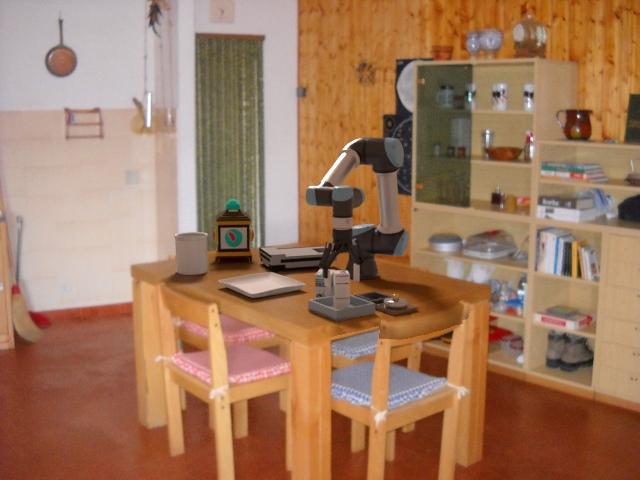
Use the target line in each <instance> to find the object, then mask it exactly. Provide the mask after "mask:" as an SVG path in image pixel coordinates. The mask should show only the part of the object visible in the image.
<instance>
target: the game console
mask: <svg viewBox="0 0 640 480" xmlns="http://www.w3.org/2000/svg"><path fill="white" fill-rule="evenodd" d="M324 250H325V246H323V245H314V246H313V245H312V246H299V247H298V246H297V247H284V248H282V247H281V248H277V247H275V246H259V247H258V255H259V256H258V257H259V258H260V259H259V260H260V262H262V263H263V264H264V265H265V266H267V267H268V268H270V269H271V270H272V271H273V272H274V273H278V272H280V273H281V272H294V271H306V270H307V271H308V270H320V269H321V268H319V267H318V265H319V263H320V260H321V258H322V255H323V253H324ZM330 254H331V253H330ZM337 260H338V256H337V257H336V258H335V260H334V261H333V262H338V261H337Z"/></svg>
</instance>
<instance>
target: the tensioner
mask: <svg viewBox="0 0 640 480" xmlns="http://www.w3.org/2000/svg"><path fill="white" fill-rule="evenodd" d="M353 296H355V297H358V298H361V299H364V300H367V301H370V302H373V303H375V310H376V309H377V310H376V311H379V310H380V311H379V312H382V311H383V312H382V313H385V314H388V315H391V316H393V317H394V316H400V315H405V314H409V313H415V312H418V311H419V306H415V305H414V304H413V305H412V304H410V303H409V301H408V300H407V298H401V297H400V294H398V293H393V294H392V295H389V294H386V293H383V292H380V291H377V290H374V291H368V292H364V293H358V294H354V295H353ZM373 298H377V299H373Z"/></svg>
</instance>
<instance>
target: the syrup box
mask: <svg viewBox="0 0 640 480" xmlns="http://www.w3.org/2000/svg"><path fill="white" fill-rule="evenodd" d="M333 282H334V309H336V310H339V309H344V308H349V307H350V295H351V291H350V290H351V287H350V285H351V278H350V274H349V272H348V271H347V270H345V269H340V270H339V269H338V270H335V271H334V279H333Z"/></svg>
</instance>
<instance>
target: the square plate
mask: <svg viewBox="0 0 640 480" xmlns="http://www.w3.org/2000/svg"><path fill="white" fill-rule="evenodd" d="M217 282H218V283H219V284H220V285H222V287H225V288H228V289H230V290H232V291H234V292H237V293H239V294H241V295H244V296H246V297H249V298H251V299H257V298H264V297H269V296H274V295H275V296H276V295H281V294H287V293H291V292H296V291H299V290H301V289H303V288H304V287H305V286H307V284H306V283H304V282H302V281H299V280H297V279H294V278H291V277H289V276H285V275H281V274H278V273H277V272H274V271H273V272H272V271H268V272H267V271H266V272H260V273H258V272H257V273H251V274H245V275H239V276H233V277H229V278H223V279H219V280H217Z"/></svg>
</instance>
